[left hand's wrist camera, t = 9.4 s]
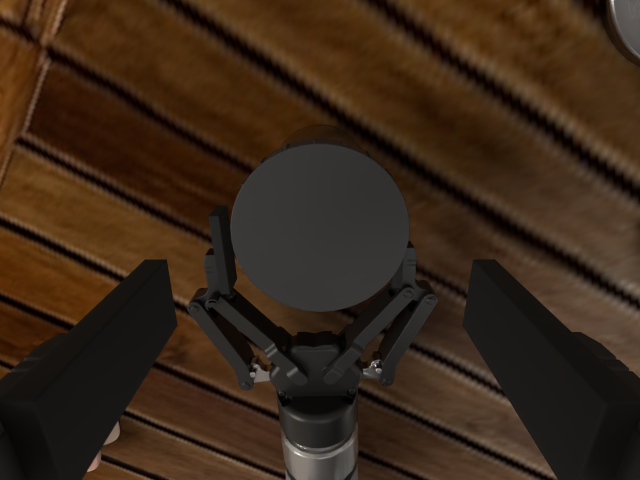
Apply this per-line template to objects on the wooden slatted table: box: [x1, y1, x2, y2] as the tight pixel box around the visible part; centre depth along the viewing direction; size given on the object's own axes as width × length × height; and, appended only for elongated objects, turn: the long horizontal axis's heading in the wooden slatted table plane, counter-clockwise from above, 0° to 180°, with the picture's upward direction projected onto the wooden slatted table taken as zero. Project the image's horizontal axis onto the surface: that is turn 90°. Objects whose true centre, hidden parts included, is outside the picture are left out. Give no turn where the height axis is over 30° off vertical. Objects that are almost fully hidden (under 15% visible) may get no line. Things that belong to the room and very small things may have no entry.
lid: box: [231, 137, 409, 312], centre depth 20 cm, size 9×9×2 cm
